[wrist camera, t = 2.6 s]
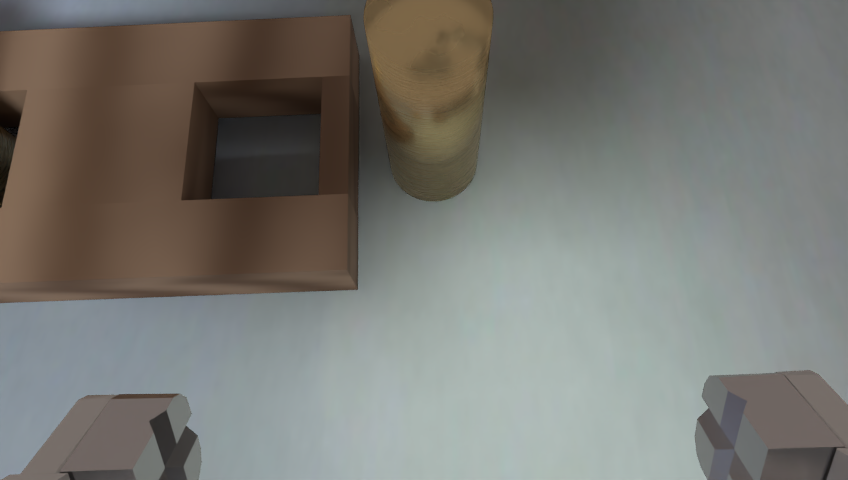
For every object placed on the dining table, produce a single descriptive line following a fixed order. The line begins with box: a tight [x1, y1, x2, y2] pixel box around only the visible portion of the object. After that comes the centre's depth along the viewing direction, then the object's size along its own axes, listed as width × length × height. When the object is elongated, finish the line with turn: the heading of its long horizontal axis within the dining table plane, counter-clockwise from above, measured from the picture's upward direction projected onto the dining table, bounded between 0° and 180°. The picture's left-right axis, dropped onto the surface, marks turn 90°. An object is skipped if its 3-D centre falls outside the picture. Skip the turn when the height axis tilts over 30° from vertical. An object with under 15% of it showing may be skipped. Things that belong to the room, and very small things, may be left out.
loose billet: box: [364, 0, 493, 201], centre depth 23 cm, size 4×4×10 cm
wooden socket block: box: [0, 15, 359, 303], centre depth 27 cm, size 21×12×3 cm, turn 92°
